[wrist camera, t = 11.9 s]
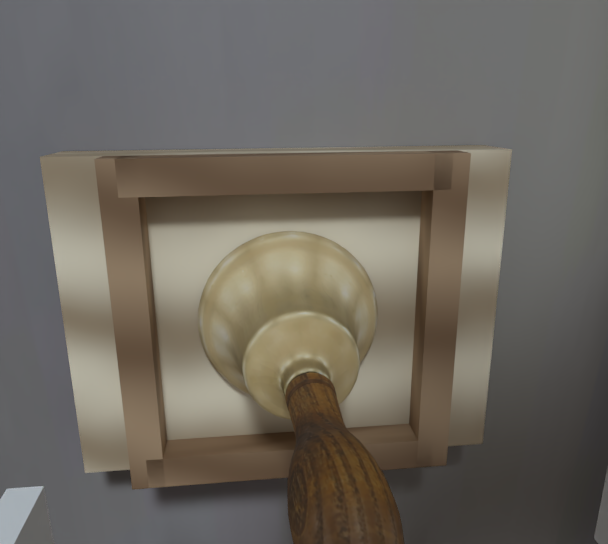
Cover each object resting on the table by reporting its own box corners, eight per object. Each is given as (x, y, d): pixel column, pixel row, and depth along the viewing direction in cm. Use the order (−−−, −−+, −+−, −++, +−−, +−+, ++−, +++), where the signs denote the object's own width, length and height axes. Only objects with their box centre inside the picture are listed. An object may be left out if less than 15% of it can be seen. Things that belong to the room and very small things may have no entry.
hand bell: (367, 216, 24) (578, 395, 9) (384, 381, 27) (572, 739, 12) (181, 246, 24) (76, 488, 9) (216, 411, 26) (181, 828, 11)
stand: (63, 151, 25) (26, 160, 21) (483, 145, 27) (529, 152, 23) (100, 437, 29) (76, 493, 25) (460, 413, 31) (495, 461, 27)
